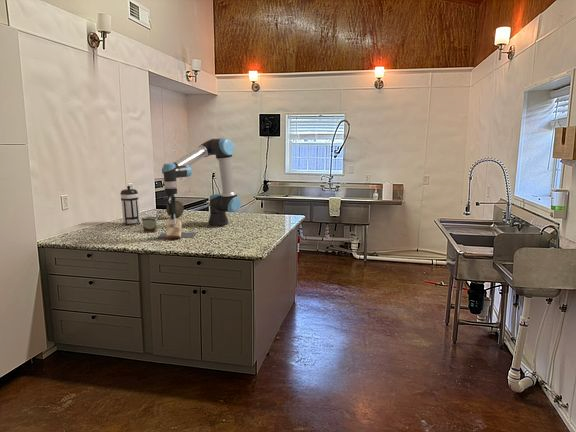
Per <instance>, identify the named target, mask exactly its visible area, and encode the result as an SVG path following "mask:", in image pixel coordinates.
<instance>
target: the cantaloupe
mask: <svg viewBox="0 0 576 432" xmlns="http://www.w3.org/2000/svg"><path fill="white" fill-rule="evenodd" d="M184 209H185V208H184V204H183V203H182V202H181V201H179V200H175V211H176V212H175V213H176V214H175V218H180V217H182V215H183V214H184V211H185V210H184ZM165 211H166V213H167V215H168V216H169V217H170V215H169V207H168V204H167V205H166V210H165Z"/></svg>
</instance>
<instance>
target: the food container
mask: <svg viewBox="0 0 576 432" xmlns="http://www.w3.org/2000/svg"><path fill="white" fill-rule="evenodd" d="M140 220H141V221H142V228H143V232H144V233H153V234H154V233H157V224H158V217H156V216H144V217H141V219H140Z"/></svg>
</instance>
